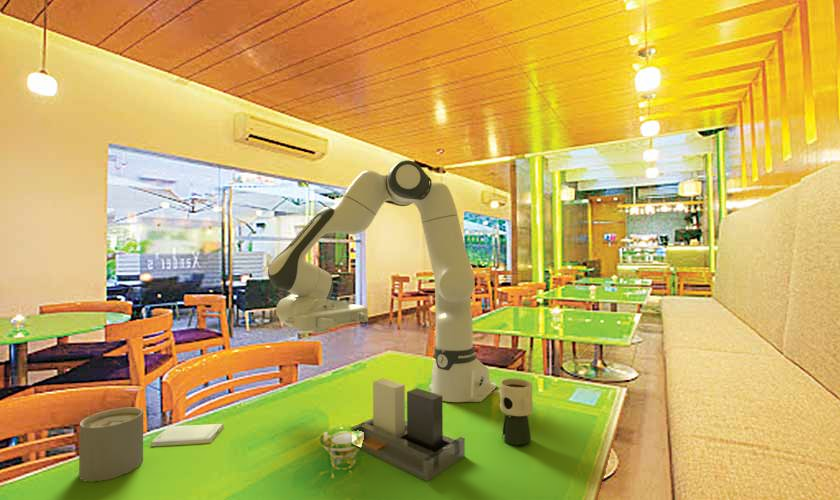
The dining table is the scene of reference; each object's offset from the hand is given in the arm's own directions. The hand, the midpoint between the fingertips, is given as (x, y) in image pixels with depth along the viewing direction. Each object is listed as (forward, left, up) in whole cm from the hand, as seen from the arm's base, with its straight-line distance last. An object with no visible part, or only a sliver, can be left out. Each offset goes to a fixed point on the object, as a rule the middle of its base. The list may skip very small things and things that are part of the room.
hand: (351, 320), depth 95 cm
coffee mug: (+41, -24, -26) cm, 54 cm away
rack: (-1, +17, -26) cm, 31 cm away
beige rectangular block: (-1, +12, -25) cm, 27 cm away
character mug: (-20, +33, -26) cm, 47 cm away
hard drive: (+27, -26, -27) cm, 46 cm away
